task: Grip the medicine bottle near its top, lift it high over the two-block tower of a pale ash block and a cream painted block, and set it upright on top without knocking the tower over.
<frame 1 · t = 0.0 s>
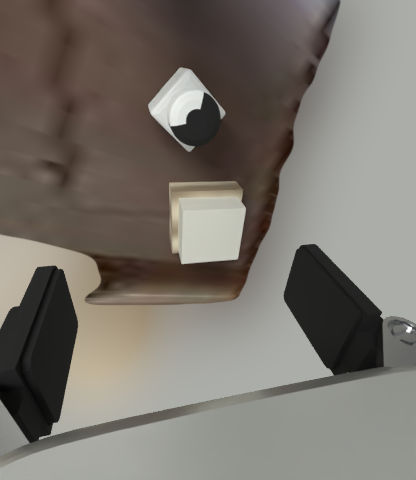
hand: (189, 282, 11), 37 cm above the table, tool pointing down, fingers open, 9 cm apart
medicine bottle: (181, 105, 41), on the table
tower top block: (206, 223, 49), point 4 cm above the table, touching tower base block
tower base block: (201, 211, 52), on the table, touching tower top block
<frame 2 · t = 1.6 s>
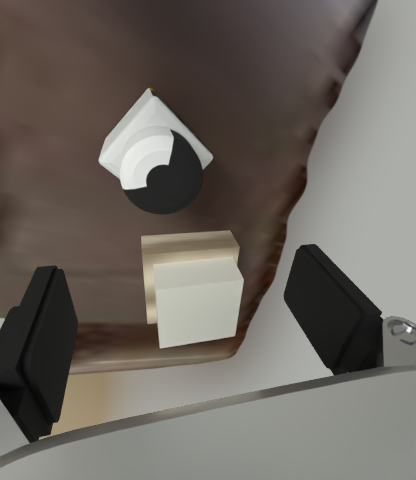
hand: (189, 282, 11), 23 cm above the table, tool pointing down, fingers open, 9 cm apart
medicine bottle: (153, 139, 30), on the table
tower top block: (193, 290, 37), point 4 cm above the table, touching tower base block
tower base block: (185, 266, 40), on the table, touching tower top block
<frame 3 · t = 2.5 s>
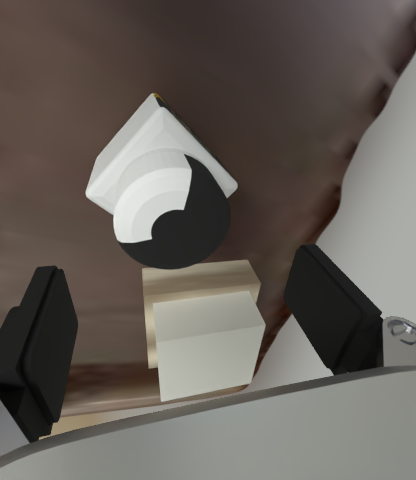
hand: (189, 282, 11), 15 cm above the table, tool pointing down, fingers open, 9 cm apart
medicine bottle: (157, 156, 24), on the table
tower top block: (200, 328, 31), point 4 cm above the table, touching tower base block
tower base block: (194, 299, 35), on the table, touching tower top block
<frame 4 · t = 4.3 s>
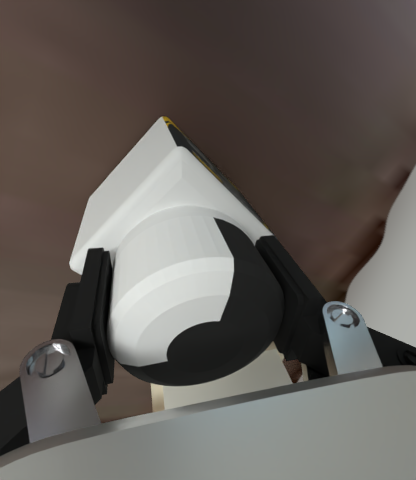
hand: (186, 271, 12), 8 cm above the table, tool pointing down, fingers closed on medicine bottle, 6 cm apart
medicine bottle: (166, 193, 19), on the table, touching gripper
tower top block: (218, 391, 26), point 4 cm above the table, touching tower base block
tower base block: (207, 347, 29), on the table, touching tower top block
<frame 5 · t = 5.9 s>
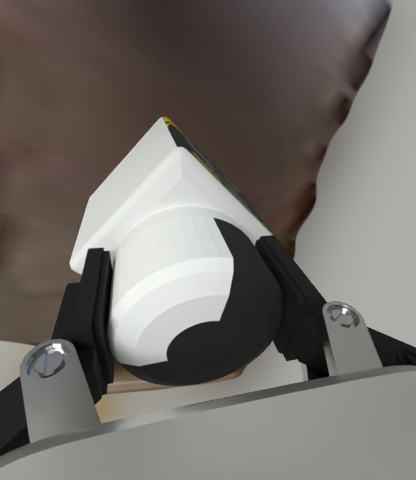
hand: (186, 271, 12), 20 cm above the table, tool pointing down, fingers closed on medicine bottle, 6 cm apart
medicine bottle: (166, 193, 19), point 11 cm above the table, touching gripper
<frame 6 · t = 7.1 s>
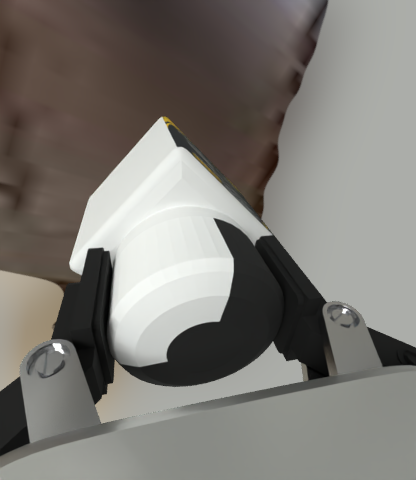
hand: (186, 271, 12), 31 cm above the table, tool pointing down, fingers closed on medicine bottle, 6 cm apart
medicine bottle: (166, 193, 19), point 22 cm above the table, touching gripper
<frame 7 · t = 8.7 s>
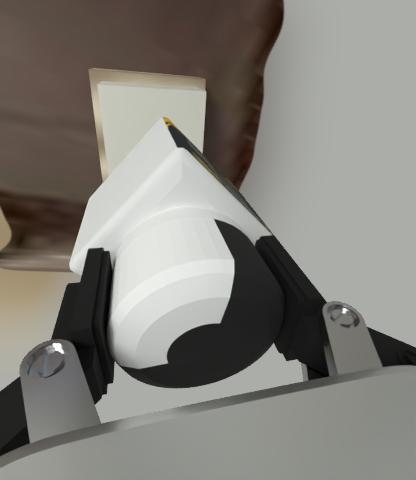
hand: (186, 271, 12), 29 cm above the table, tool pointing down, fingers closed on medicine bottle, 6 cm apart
medicine bottle: (166, 193, 19), point 21 cm above the table, touching gripper
tower top block: (152, 133, 32), point 4 cm above the table, touching tower base block
tower base block: (149, 126, 36), on the table, touching tower top block
when the fingers open (18 cm above the table, at t = 10.9 s): medicine bottle drops 2 cm, resting on tower top block.
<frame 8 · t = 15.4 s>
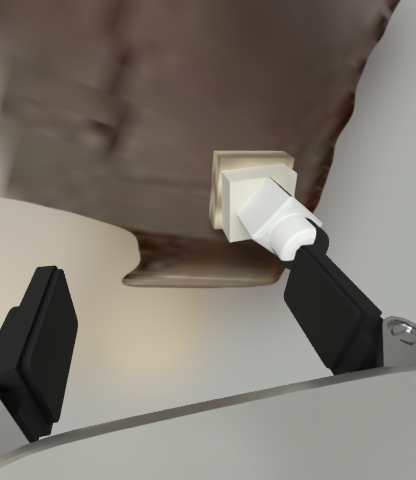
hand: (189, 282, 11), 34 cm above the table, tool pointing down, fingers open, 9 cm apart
medicine bottle: (266, 206, 41), point 8 cm above the table, touching tower top block
tower top block: (251, 197, 45), point 4 cm above the table, touching medicine bottle, tower base block
tower base block: (243, 184, 48), on the table, touching tower top block
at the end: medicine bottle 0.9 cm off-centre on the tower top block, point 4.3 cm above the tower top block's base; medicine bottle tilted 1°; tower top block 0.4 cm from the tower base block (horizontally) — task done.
